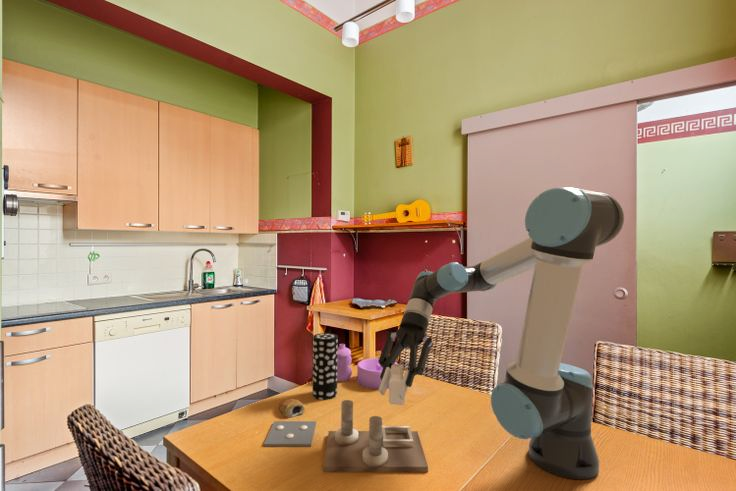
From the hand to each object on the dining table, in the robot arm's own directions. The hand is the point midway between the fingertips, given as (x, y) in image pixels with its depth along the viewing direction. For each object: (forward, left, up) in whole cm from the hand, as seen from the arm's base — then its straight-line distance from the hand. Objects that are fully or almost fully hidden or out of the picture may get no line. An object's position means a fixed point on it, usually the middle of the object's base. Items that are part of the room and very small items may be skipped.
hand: (391, 394), depth 95 cm
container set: (+32, -35, -14) cm, 50 cm away
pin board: (+3, +3, -14) cm, 15 cm away
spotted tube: (+36, -16, -14) cm, 42 cm away
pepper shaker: (0, -4, -3) cm, 5 cm away
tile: (+26, +9, -14) cm, 31 cm away
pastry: (+36, 0, -14) cm, 39 cm away
